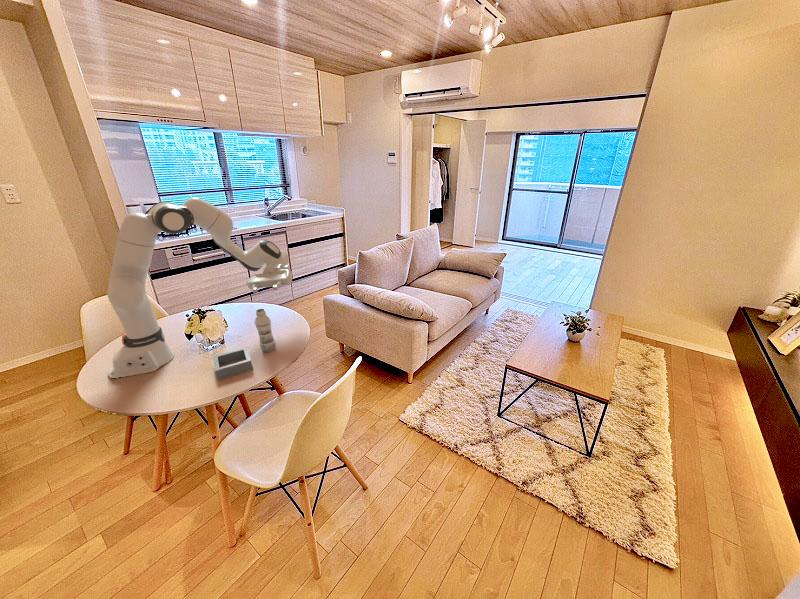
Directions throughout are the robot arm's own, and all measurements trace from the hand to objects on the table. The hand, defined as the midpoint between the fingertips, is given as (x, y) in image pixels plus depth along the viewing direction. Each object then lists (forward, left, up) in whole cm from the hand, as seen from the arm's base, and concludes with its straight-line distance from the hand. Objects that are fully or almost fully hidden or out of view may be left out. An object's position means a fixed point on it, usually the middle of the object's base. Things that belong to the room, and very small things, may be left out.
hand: (264, 290), depth 142 cm
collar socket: (-19, -13, -26) cm, 35 cm away
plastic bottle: (-4, -7, -26) cm, 27 cm away
